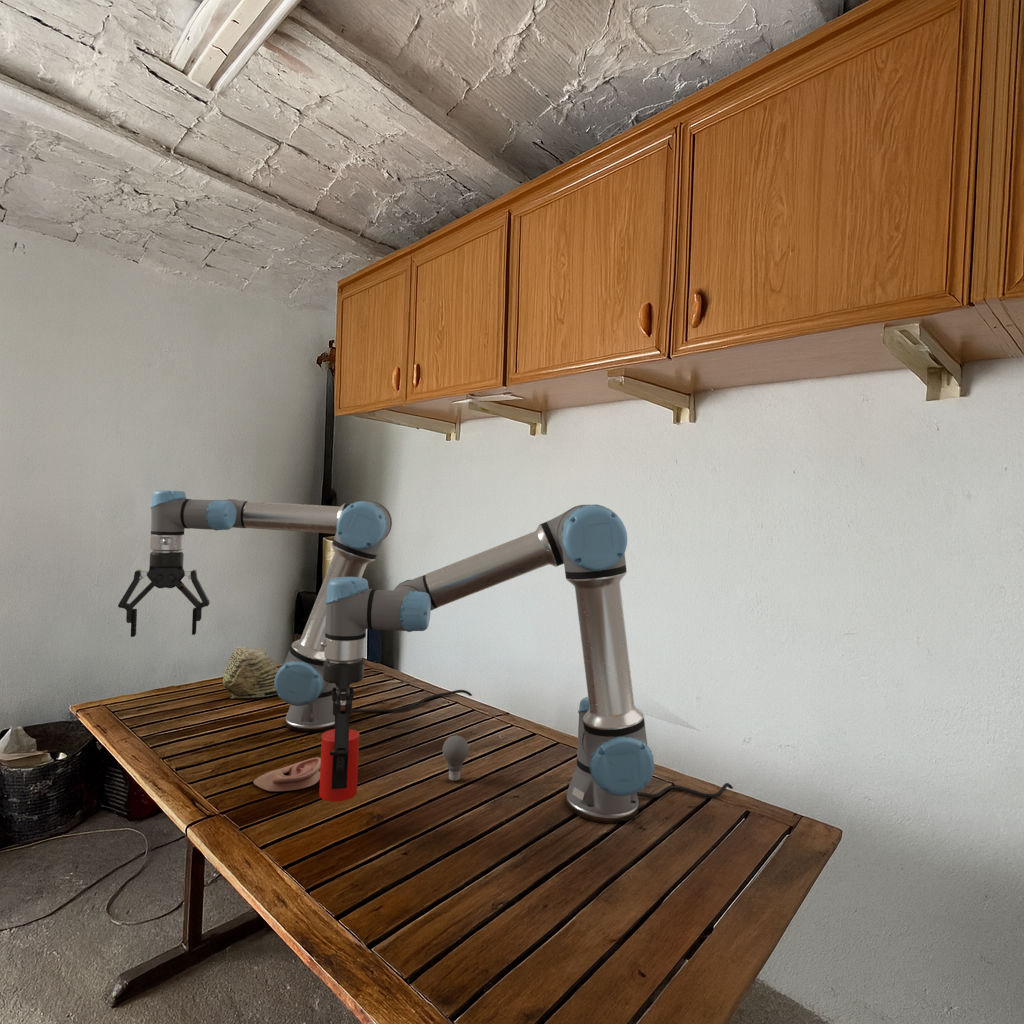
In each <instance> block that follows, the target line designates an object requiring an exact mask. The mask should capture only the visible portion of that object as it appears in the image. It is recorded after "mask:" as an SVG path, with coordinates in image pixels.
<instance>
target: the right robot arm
mask: <svg viewBox="0 0 1024 1024" xmlns="http://www.w3.org/2000/svg"><path fill="white" fill-rule="evenodd" d="M627 547H628V532H627V529H626V526H625V524H624V522H623V521H622V519H621V517H620V516H619V515H618V514H617V513H616V512H615V511H613V510H612V509H611V508H609V507H607V506H604V505H600V504H579V505H576V506H573V507H571V508H570V509H569V508H568V509H567V510H566V511H564V512H563V513H561V514H559V515H557V516H555V517H553V518H552V519H549V520H547V521H545V522H541V523H539V524H538V526H537V528H536V530H535V531H532V532H529V533H527V534H524V535H522V536H519V537H516V538H515V539H512V540H509V541H506V542H504V543H502V544H499V545H497V546H494V547H491V548H489V549H485V550H483V551H482V552H479V553H476V554H474V555H471V556H468V557H466V558H463V559H461V560H458V561H456V562H452V563H450V564H448V565H446V566H443V567H441V568H437V569H435V570H432V571H430V572H428V573H425V574H422V575H420V576H417V577H415V578H412V579H406V580H404V581H401V582H399V584H398V585H396V586H395V587H394V589H393V590H392V589H373V588H370V587H369V581H368V580H367V579H366V578H364V577H362V578H358V577H337V578H333V579H331V580H330V581H329V583H328V590H327V600H326V603H325V604H326V626H325V641H326V642H322V643H321V646H322V647H325V651H324V657H325V658H326V660H325V661H324V667H323V679H324V680H325V681H326V682H328V683H334V684H336V688H332V701H333V715H334V716H335V724H334V728H333V729H335V741H334V750H333V752H330V755H333V768H332V789H342V788H347V771H348V753H349V749H348V742H349V729H350V716H351V715H352V714H353V713H352V709H353V701H354V698H355V691H354V686H351V685H352V684H356V683H359V682H361V681H363V679H364V678H365V660H364V658H365V657H366V643H367V642H366V641H367V635H366V633H367V632H366V631H367V630H380V631H381V630H382V631H396V632H397V631H399V632H407V633H412V632H424V631H426V630H428V628H429V625H430V620H431V611H434V610H436V609H438V608H440V607H443V606H445V605H448V604H450V603H453V602H456V601H459V600H461V599H464V598H466V597H469V596H471V595H474V594H476V593H479V592H482V591H484V590H487V589H489V588H492V587H494V586H497V585H500V584H502V583H505V582H507V581H511V580H512V579H515V578H518V577H520V576H523V575H526V574H528V573H531V572H533V571H536V570H538V569H541V568H543V567H546V566H553V567H556V568H557V567H559V566H562V565H564V567H563V568H564V574H565V580H566V581H567V582H568V583H570V584H571V585H572V586H573V587H574V593H575V599H576V608H577V617H578V625H579V631H580V632H579V633H580V642H581V649H582V650H581V651H582V657H583V666H584V673H585V674H584V675H585V683H586V690H587V696H585V697H583V698H582V699H581V700H580V701H579V707H578V711H577V713H578V725H577V726H578V729H577V750H576V767H575V769H574V772H573V775H572V778H571V780H570V782H569V786H568V788H567V791H566V798H565V799H566V801H565V802H566V806H567V807H568V808H567V809H569V811H571V812H572V813H574V815H577V816H578V817H581V818H583V819H585V820H589V821H592V822H596V823H603V824H604V823H605V824H618V823H624V822H627V821H630V820H632V819H633V818H635V817H636V816H638V813H639V808H640V806H639V805H640V800H639V797H643V798H644V797H645V798H651V799H656V798H660V797H661V796H663V795H664V794H665V793H666V792H667V791H671V790H675V791H676V790H677V791H682V792H687V793H690V794H693V795H695V796H699V797H703V798H708V799H709V798H717V797H720V796H721V795H722V794H723V793H724V792H725V790H726V789H727V788H728V789H731V790H732V789H734V787H733V785H731V784H730V783H729V782H726V783H725V782H724V784H723V785H722V787H721V788H720V789H719V791H717V792H715V793H706V792H701V791H697V790H695V789H691V788H689V787H685V786H681V785H669V786H665V787H664V788H663V789H661V790H660V791H659V792H657V793H648V792H640V791H642V790H643V789H644V788H645V787H646V786H647V785H648V784H649V783H650V781H651V780H652V778H653V775H654V771H655V760H654V759H655V758H654V754H653V752H652V750H651V748H650V747H649V745H648V739H647V731H646V729H647V728H646V723H645V714H644V712H643V711H642V710H641V709H640V708H638V707H637V706H636V705H635V697H634V690H633V681H632V673H631V664H630V657H629V648H628V639H627V632H626V631H627V630H626V621H625V613H624V606H623V605H624V604H623V598H622V597H623V596H622V589H621V581H622V580H623V578H624V577H625V576H626V575H627V574H628V571H627V562H626V554H625V553H626V551H627Z"/></svg>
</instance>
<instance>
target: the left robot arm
mask: <svg viewBox="0 0 1024 1024" xmlns="http://www.w3.org/2000/svg"><path fill="white" fill-rule="evenodd" d="M150 510H151V511H150V512H151V513H150V514H151V515H150V539H149V540H150V542H149V543H150V544H149V550H151V551H150V553H149V565H148V567H149V568H148V570H147V571H146V570H141V569H137V570H135V571H134V574H133V579H132V580H131V583H130V585H129V586H128V588H127V590H126V591H125V593H124V594H123V595H122V598H121V599H120V601H119V602H118V605H117V607H118V608H119V609H123V610H125V611H126V616H125V617H126V618H125V619H126V620H125V622H126V623H127V624H130V638H134V637H136V636H137V619H138V608H134V607H136V606H137V605H138V604H139V603H140V601H142V600H143V598H144V597H145V596H146V595H147V594H149V592H151V590H152V589H154V588H157V589H174V588H176V589H178V591H180V592H181V594H183V595H184V597H185V598H187V601H189V602H190V603H191V604H192V605H193V606H194V607H193V609H192V619H191V620H192V621H191V622H192V623H191V636H195V635H196V634H197V622H201V620H202V613H203V608H205V607H208V606H209V605H210V602H211V601H210V600H209V598H208V596H207V594H206V592H205V590H204V588H203V587H202V584H201V582H200V581H199V578H198V573H197V572H198V571H197V570H196V569H192V570H187V571H186V570H185V569H184V555H185V554H184V552H183V550H184V549H185V529H189V530H190V529H192V530H194V529H195V530H211V531H212V530H213V531H228V530H230V529H233V528H235V529H254V530H268V531H269V530H271V531H285V532H286V531H287V532H301V533H303V532H304V533H317V534H333V535H334V537H333V540H332V542H331V547H332V548H333V551H334V553H333V556H332V559H331V562H330V564H329V566H328V569H327V571H326V574H325V576H324V578H323V581H322V583H321V587H320V589H319V591H318V594H317V596H316V599H315V601H314V604H313V607H312V609H311V612H310V614H309V616H308V619H307V622H306V624H305V626H304V629H303V632H302V634H301V637H300V639H297V640H295V641H293V642H292V644H291V646H290V648H289V650H288V653H287V655H286V658H285V660H284V663H283V664H282V665H281V666H280V667H279V668H278V669H279V670H278V671H277V674H276V676H275V681H274V684H275V690H276V692H277V694H276V695H277V696H278V697H279V698H280V699H281V700H282V701H283V702H284V703H286V704H288V705H289V708H288V711H287V713H286V715H285V726H286V728H287V729H289V730H291V731H294V732H295V731H296V732H301V733H316V732H326V731H329V730H332V729H334V724H335V716H334V715H333V701H332V688H336V684H334V683H328V682H326V681H325V680H324V679H323V667H324V661H325V660H326V658H325V657H324V651H325V647H322V646H321V643H322V642H326V641H325V626H326V604H325V603H326V600H327V590H328V583H329V581H330V580H331V579H333V578H337V577H358V578H363V575H364V574H365V573H364V572H365V570H366V568H367V565H368V564H369V563H372V562H374V561H376V558H377V556H378V553H379V551H380V548H381V546H382V543H383V542H384V540H385V539H387V537H388V536H389V534H390V532H391V531H392V526H393V520H392V516H391V513H390V512H389V510H388V509H387V508H386V507H385V505H382V504H381V503H379V502H376V501H367V500H361V501H360V500H358V501H355V502H352V503H346V502H345V503H343V504H341V506H337V505H320V504H306V503H305V504H304V503H303V504H301V503H289V502H272V501H271V502H270V501H256V500H255V501H254V500H238V499H234V498H233V499H192V498H187V495H186V492H185V491H183V490H166V489H165V490H164V489H163V490H162V489H158V490H157V489H156V490H155V491H154V492H153V493H152V497H151V506H150ZM145 577H147V578H148V579H149V581H150V582H149V584H147V586H146V587H145V588H144V589H142V591H141V592H140V593H139V594H138V595H137V596H136V597H135V598H134V599H133V600H132V601H130V603H128V601H129V600H130V598H131V597H132V594H133V593H134V591H135V590H136V588H137V587H138V584H139V583H140V581H141V580H144V578H145ZM184 577H187V579H188V580H190V581H191V583H192V585H193V587H194V589H195V591H196V592H197V594H198V596H199V599H200V600H201V601H200V600H199V599H198V598H197V596H195V595H194V594H193V592H191V590H189V588H188V587H187V586H186V585H185V583H183V581H182V580H183V578H184ZM454 694H455V695H456V694H466V695H467V696H469V697H472V696H473V694H472V693H471V691H468V690H465V689H456V690H451V691H446V692H441V693H435V694H432V695H429V696H426V697H423V698H422V699H420V700H419V701H417V702H414V703H411V704H408V705H406V706H402V707H396V708H383V709H382V708H365V709H364V708H363V709H361V708H358V709H357V708H354V709H353V708H352V713H351V714H353V713H355V714H356V713H358V714H359V713H361V714H362V713H394V712H402V711H406V710H409V709H412V708H415V707H417V706H420V705H421V704H423V703H425V702H426V701H429V700H433V699H435V698H439V697H445V696H450V695H454Z"/></svg>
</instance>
